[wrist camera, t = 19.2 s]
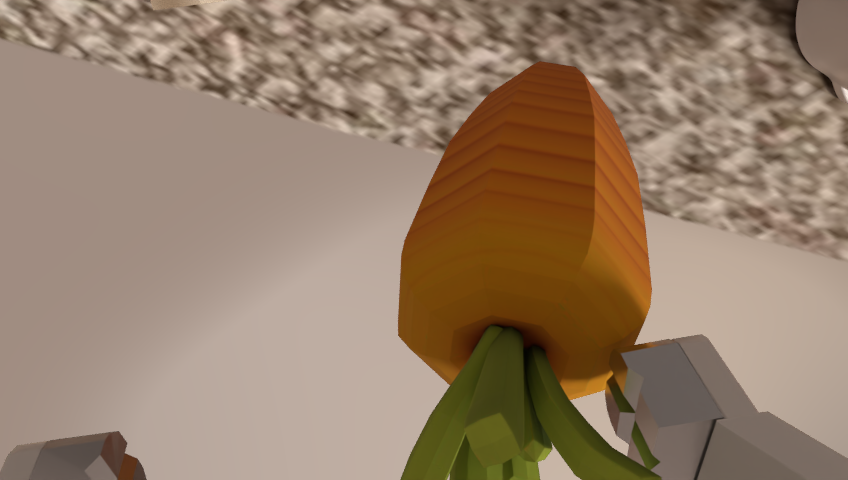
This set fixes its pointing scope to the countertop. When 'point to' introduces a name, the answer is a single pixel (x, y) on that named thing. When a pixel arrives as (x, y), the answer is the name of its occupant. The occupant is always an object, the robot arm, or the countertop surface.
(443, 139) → the countertop surface
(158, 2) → the wooden frame
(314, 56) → the countertop surface
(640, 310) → the carrot
